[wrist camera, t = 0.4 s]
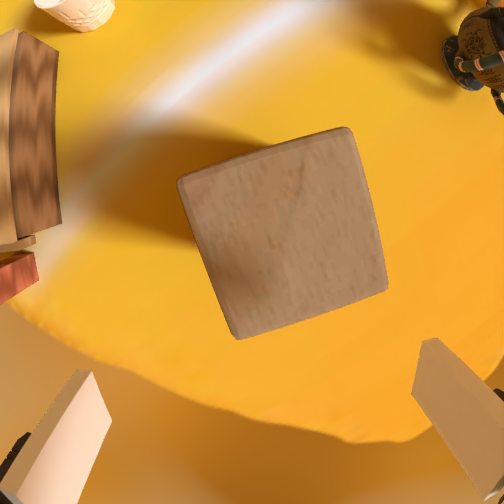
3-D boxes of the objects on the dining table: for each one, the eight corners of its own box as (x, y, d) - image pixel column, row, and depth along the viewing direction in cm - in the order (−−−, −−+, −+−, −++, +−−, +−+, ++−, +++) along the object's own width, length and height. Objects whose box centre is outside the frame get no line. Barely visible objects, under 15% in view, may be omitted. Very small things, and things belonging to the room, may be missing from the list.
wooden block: (236, 257, 37) (234, 345, 18) (208, 176, 35) (171, 178, 16) (317, 231, 37) (392, 291, 18) (292, 149, 35) (353, 123, 15)
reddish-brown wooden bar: (15, 254, 36) (-39, 279, 24) (33, 252, 36) (-21, 279, 25) (20, 280, 37) (-30, 311, 25) (39, 280, 37) (-12, 312, 25)
